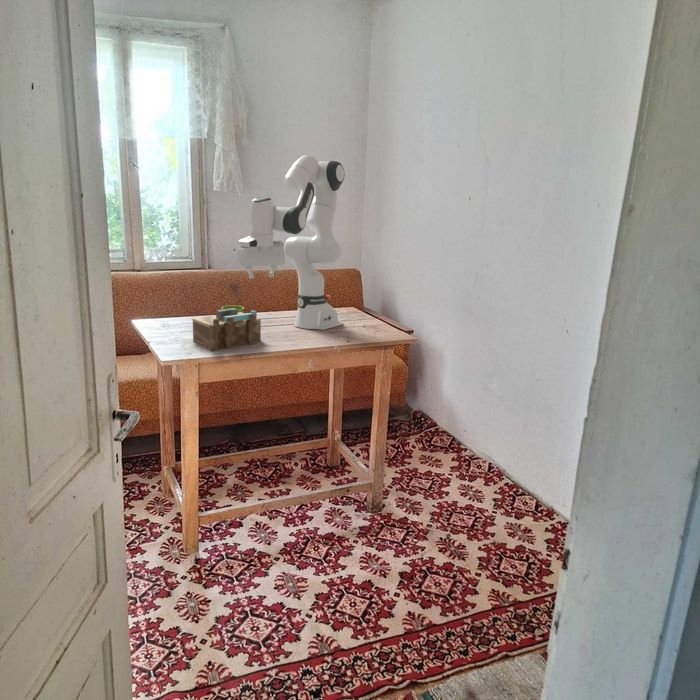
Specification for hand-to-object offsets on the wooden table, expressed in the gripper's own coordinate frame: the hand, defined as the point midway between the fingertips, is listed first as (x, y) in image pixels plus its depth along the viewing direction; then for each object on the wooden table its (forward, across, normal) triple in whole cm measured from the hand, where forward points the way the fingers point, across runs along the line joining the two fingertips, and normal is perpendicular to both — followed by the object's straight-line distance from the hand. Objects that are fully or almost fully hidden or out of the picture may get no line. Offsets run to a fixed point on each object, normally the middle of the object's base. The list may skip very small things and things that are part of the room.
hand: (261, 277), depth 231 cm
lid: (+19, +10, -7) cm, 22 cm away
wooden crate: (+26, +11, -6) cm, 29 cm away
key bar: (+16, +10, 0) cm, 18 cm away
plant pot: (+26, -4, -26) cm, 37 cm away
